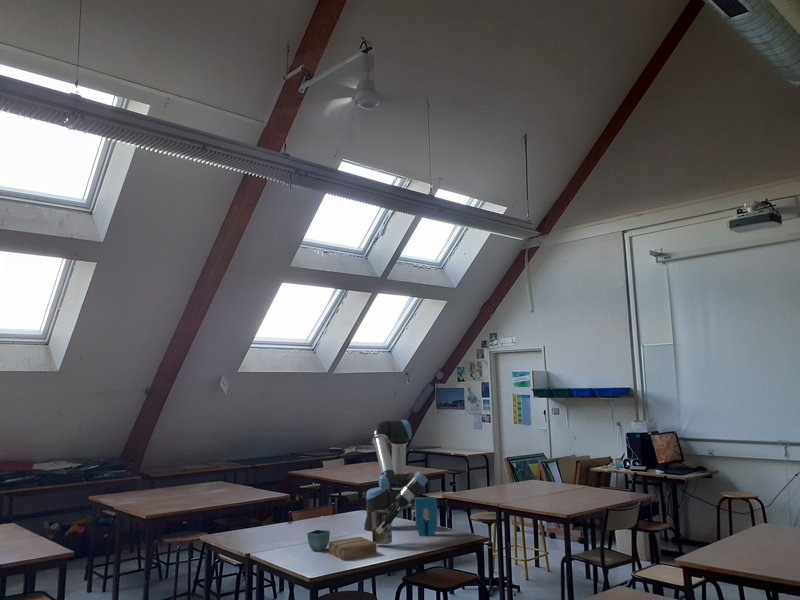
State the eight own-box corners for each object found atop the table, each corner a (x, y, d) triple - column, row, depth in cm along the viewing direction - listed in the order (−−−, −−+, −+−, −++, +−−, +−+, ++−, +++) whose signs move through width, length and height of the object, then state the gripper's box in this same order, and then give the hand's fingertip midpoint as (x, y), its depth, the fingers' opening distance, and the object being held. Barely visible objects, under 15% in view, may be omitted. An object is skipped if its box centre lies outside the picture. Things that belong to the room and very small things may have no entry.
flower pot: (320, 552, 301) (320, 534, 302) (306, 551, 305) (306, 533, 307) (330, 548, 308) (330, 530, 310) (317, 547, 313) (317, 529, 314)
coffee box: (392, 541, 312) (391, 510, 315) (388, 544, 306) (387, 512, 309) (376, 541, 315) (375, 509, 318) (371, 543, 309) (371, 511, 312)
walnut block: (328, 554, 299) (328, 541, 300) (360, 548, 308) (360, 536, 309) (343, 561, 284) (343, 548, 285) (376, 555, 293) (376, 542, 294)
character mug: (431, 528, 350) (430, 505, 352) (430, 531, 343) (429, 507, 345) (412, 529, 351) (412, 506, 353) (412, 531, 344) (411, 508, 346)
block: (437, 533, 335) (435, 497, 339) (437, 535, 330) (435, 498, 334) (416, 534, 336) (415, 497, 340) (416, 536, 331) (414, 499, 335)
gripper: (414, 505, 306) (384, 540, 300) (405, 498, 328) (377, 530, 322) (403, 495, 306) (374, 530, 300) (395, 489, 327) (368, 521, 322)
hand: (376, 530), depth 311 cm, fingers closed on coffee box, 10 cm apart
